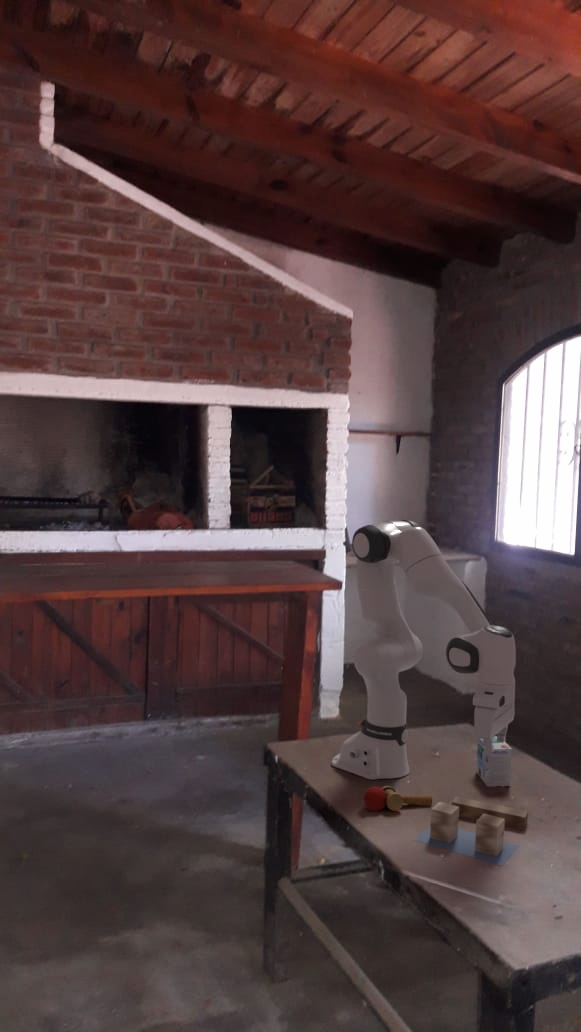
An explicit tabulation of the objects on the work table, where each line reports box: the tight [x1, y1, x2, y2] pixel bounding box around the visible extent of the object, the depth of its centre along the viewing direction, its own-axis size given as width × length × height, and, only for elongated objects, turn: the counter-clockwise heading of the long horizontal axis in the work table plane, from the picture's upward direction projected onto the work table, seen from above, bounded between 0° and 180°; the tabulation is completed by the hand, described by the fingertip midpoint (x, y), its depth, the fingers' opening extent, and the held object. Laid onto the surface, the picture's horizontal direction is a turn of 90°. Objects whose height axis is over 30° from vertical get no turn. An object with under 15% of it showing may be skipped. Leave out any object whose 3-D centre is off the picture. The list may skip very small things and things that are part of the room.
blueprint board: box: [413, 824, 519, 867], centre depth 195 cm, size 21×12×1 cm, turn 58°
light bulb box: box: [475, 735, 513, 787], centre depth 235 cm, size 11×7×11 cm, turn 5°
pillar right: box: [475, 814, 505, 857], centre depth 191 cm, size 5×5×7 cm
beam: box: [451, 796, 529, 831], centre depth 208 cm, size 18×4×4 cm, turn 65°
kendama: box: [363, 785, 433, 812], centre depth 214 cm, size 8×6×18 cm
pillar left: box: [430, 801, 460, 843], centre depth 197 cm, size 5×5×7 cm
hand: (495, 747), depth 207 cm, fingers open, 8 cm apart
